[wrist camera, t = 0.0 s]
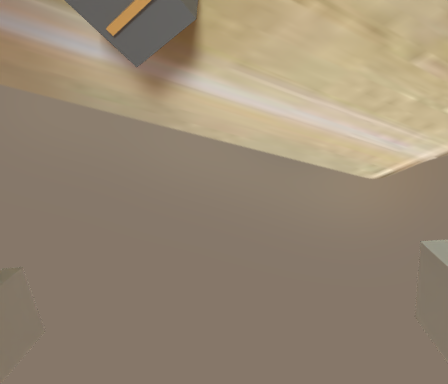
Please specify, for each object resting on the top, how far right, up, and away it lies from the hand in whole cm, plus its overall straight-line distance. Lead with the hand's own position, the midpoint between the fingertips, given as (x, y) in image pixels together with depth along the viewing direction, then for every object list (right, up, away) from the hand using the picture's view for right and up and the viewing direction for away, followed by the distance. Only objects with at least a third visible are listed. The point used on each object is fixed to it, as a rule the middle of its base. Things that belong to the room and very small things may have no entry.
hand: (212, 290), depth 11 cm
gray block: (-8, +27, +23) cm, 37 cm away
